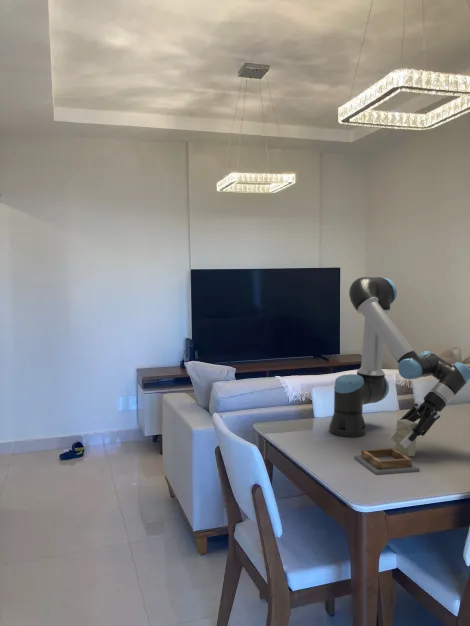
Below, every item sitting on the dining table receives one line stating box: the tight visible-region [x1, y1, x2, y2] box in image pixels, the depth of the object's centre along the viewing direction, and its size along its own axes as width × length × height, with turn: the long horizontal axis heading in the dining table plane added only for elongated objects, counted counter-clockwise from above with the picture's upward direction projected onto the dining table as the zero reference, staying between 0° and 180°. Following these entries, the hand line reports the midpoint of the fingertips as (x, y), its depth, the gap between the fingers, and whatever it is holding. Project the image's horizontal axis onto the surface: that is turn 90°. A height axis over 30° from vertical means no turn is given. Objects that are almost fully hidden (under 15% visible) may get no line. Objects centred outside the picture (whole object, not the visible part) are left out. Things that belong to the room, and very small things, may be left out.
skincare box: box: [395, 419, 418, 457], centre depth 199 cm, size 6×4×12 cm
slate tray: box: [353, 454, 420, 475], centre depth 188 cm, size 16×16×1 cm
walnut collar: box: [360, 447, 413, 469], centre depth 188 cm, size 12×12×2 cm
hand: (397, 443), depth 198 cm, fingers closed on skincare box, 7 cm apart
